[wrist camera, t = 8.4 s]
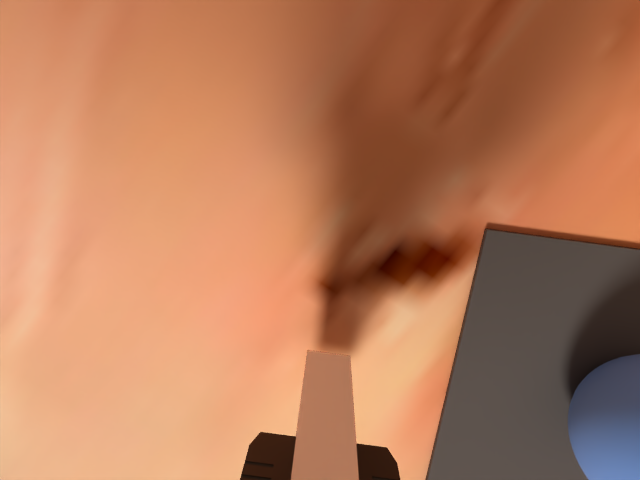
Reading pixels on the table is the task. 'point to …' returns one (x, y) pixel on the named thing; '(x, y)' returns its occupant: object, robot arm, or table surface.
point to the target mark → (532, 354)
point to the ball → (608, 421)
